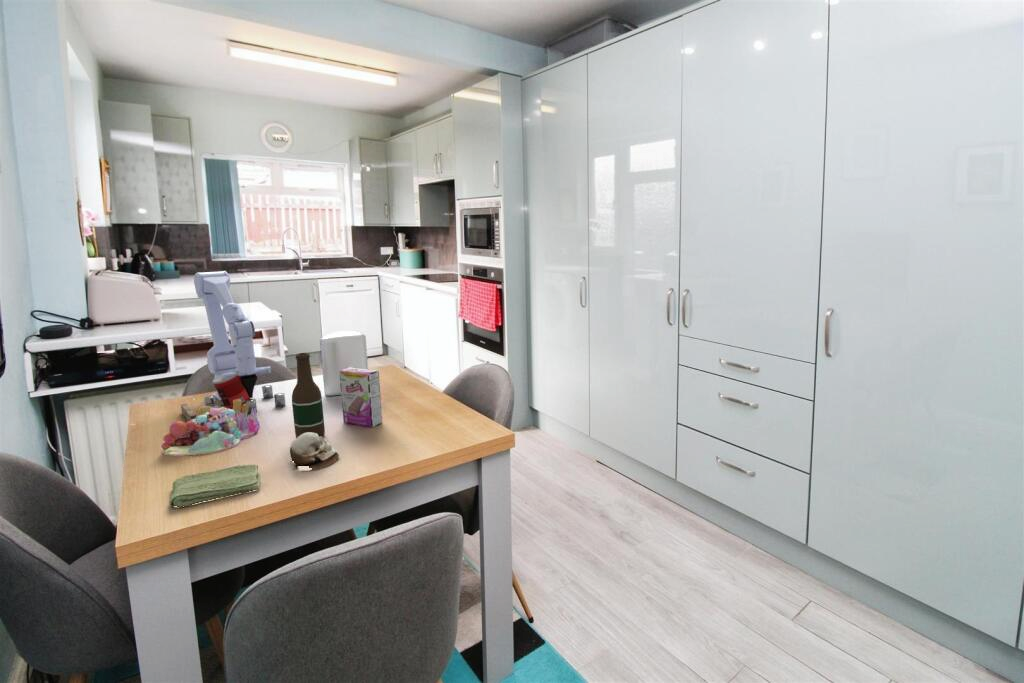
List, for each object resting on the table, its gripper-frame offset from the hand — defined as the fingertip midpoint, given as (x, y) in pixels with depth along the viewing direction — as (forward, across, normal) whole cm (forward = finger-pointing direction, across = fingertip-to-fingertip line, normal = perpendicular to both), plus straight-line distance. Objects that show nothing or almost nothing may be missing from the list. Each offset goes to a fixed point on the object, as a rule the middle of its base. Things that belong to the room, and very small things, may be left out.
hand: (250, 397), depth 181 cm
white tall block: (+4, +32, -6) cm, 33 cm away
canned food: (+2, -4, 0) cm, 4 cm away
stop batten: (+3, -18, 0) cm, 18 cm away
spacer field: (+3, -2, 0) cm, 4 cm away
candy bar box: (+4, +20, -42) cm, 47 cm away
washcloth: (+4, -23, -60) cm, 64 cm away
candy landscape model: (+4, -16, -23) cm, 29 cm away
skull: (+4, -1, -59) cm, 60 cm away
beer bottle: (+4, +4, -43) cm, 43 cm away
